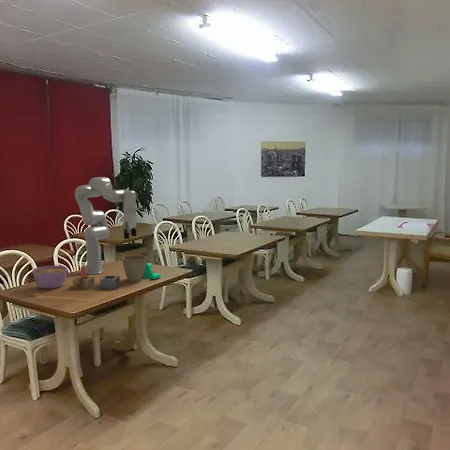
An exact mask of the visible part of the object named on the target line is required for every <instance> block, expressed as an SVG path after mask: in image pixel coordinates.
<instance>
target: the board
mask: <svg viewBox="0 0 450 450" xmlns="http://www.w3.org/2000/svg"><path fill="white" fill-rule="evenodd" d="M122 286H123V284H120V285H119V286H118V287H117V288H116V289H100V283H95V285H94V286H92V287H91V288H90V289H88V290H93V291H94V290H96V291H99V290H100V291H118V290H119V289H120V288H121V287H122ZM70 290H83V289H82V288H73V287H71V288H70Z"/></svg>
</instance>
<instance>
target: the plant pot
mask: <svg viewBox="0 0 450 450" xmlns="http://www.w3.org/2000/svg"><path fill="white" fill-rule="evenodd" d="M146 261H147V256H145V255H142V254H131V255H125V256H123V257H122V266H123V269H124V273H125V276H126V278H127V281H128V282H130V283H131V282H133V283H137V282H141V281H142V278H143V277H142V276H143V273H144V269H145V264H147V263H146Z"/></svg>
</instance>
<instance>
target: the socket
mask: <svg viewBox="0 0 450 450" xmlns="http://www.w3.org/2000/svg"><path fill="white" fill-rule="evenodd" d="M99 284H100V289H116V288H117V287H118V286H119V285H121V284H120V275H109V274H107V275H103V276H102V277H101V278H100V279H99Z"/></svg>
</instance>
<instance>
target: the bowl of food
mask: <svg viewBox="0 0 450 450" xmlns="http://www.w3.org/2000/svg"><path fill="white" fill-rule="evenodd" d="M31 273H32V275H33V280H34V281H35V284H36V285H37V287H39V288H41V289H44V290H51V289H57V288H60V287H61V286H63V285H64V283H65V280H66V277H67V273H68V267H67V266H63V265H46V266H45V265H44V266H38V267H36V268H33V269H31Z"/></svg>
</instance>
